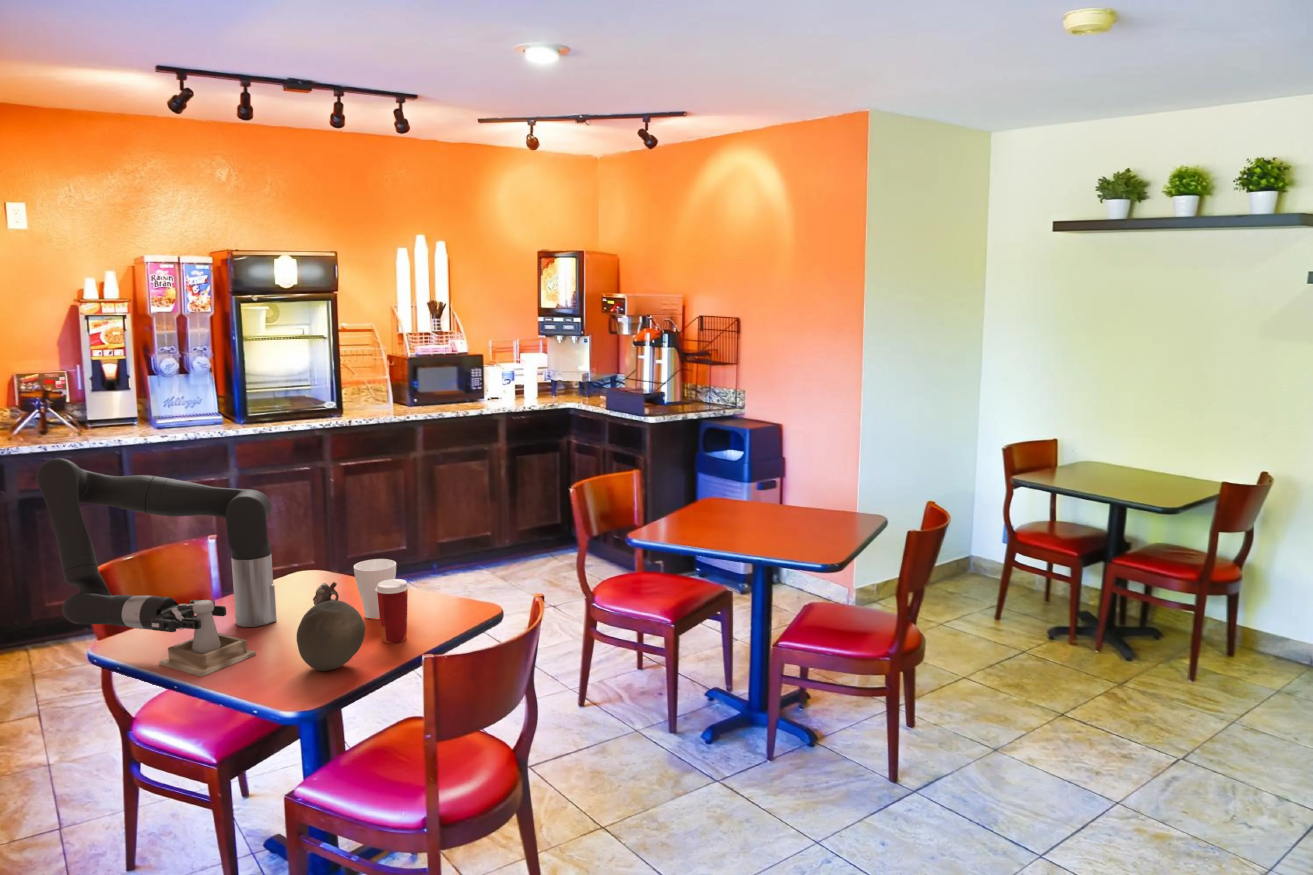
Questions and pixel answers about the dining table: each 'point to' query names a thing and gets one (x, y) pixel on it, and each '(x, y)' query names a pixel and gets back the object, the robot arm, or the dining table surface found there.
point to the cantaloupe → (330, 635)
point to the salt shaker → (205, 628)
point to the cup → (372, 582)
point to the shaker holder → (207, 656)
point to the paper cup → (393, 609)
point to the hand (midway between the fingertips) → (212, 617)
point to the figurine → (325, 593)
